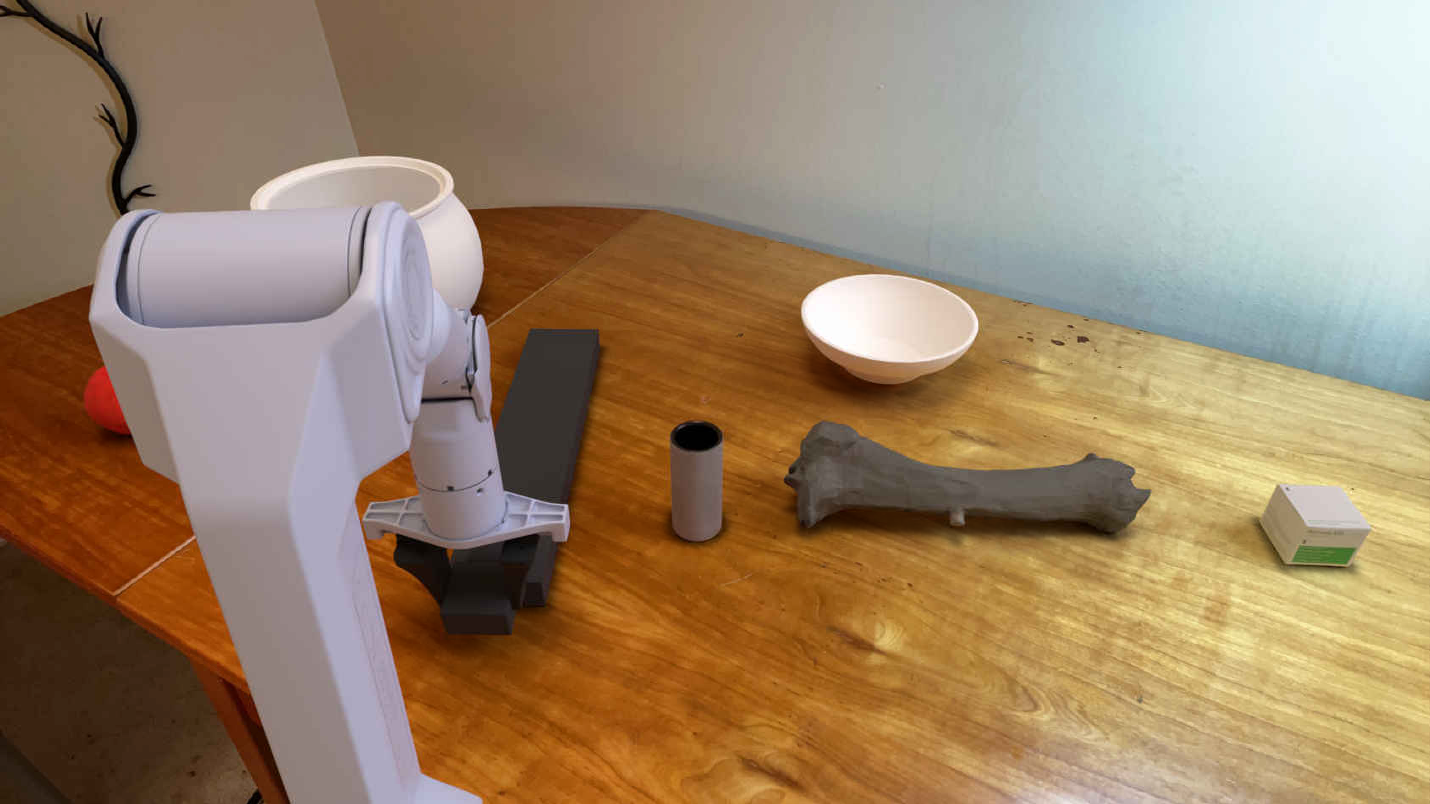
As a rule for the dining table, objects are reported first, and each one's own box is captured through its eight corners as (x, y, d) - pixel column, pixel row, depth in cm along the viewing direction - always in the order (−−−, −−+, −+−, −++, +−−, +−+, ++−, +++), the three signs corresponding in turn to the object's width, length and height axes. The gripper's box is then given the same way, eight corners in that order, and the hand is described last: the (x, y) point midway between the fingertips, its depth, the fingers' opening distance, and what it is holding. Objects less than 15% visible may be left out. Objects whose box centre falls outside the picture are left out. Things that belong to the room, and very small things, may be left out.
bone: (781, 540, 81) (786, 460, 76) (780, 472, 89) (785, 395, 84) (1149, 555, 80) (1181, 474, 75) (1115, 484, 88) (1141, 407, 83)
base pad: (545, 606, 75) (541, 582, 73) (448, 605, 75) (442, 581, 73) (600, 349, 107) (598, 329, 106) (532, 348, 108) (530, 328, 106)
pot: (325, 257, 127) (294, 144, 117) (513, 262, 126) (497, 148, 117) (223, 373, 103) (175, 242, 93) (455, 380, 102) (429, 248, 93)
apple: (149, 455, 91) (121, 394, 86) (80, 444, 92) (50, 384, 88) (201, 409, 97) (178, 350, 93) (136, 400, 98) (110, 342, 94)
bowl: (957, 431, 95) (968, 376, 91) (777, 395, 100) (780, 342, 96) (976, 339, 110) (986, 289, 106) (819, 312, 115) (823, 263, 111)
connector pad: (511, 635, 70) (506, 614, 68) (446, 635, 70) (439, 613, 68) (528, 552, 75) (523, 531, 74) (468, 551, 75) (462, 530, 74)
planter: (731, 519, 84) (733, 430, 78) (704, 549, 80) (704, 458, 74) (690, 502, 85) (688, 413, 80) (662, 530, 82) (659, 440, 76)
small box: (1284, 566, 79) (1306, 525, 76) (1256, 521, 84) (1275, 481, 81) (1351, 569, 79) (1375, 528, 76) (1319, 524, 84) (1341, 483, 81)
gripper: (568, 431, 66) (583, 563, 74) (370, 428, 66) (405, 561, 74) (553, 495, 60) (571, 631, 68) (336, 492, 60) (379, 629, 68)
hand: (483, 599), depth 71 cm, fingers closed on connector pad, 5 cm apart
